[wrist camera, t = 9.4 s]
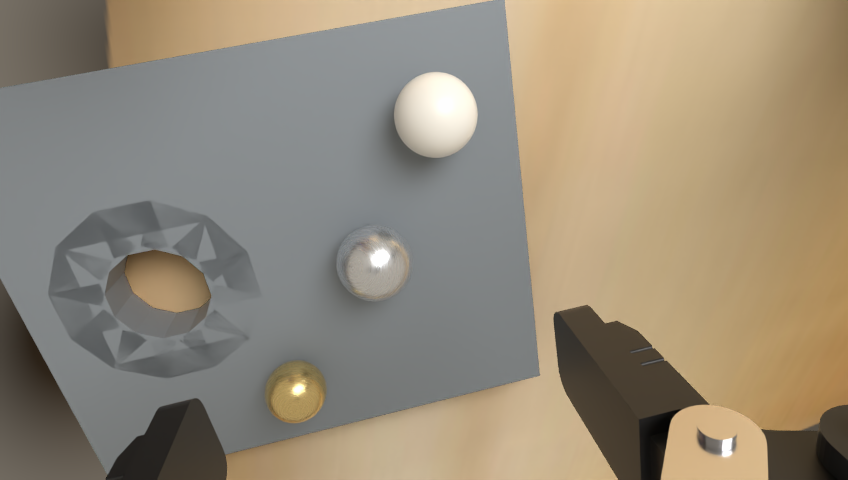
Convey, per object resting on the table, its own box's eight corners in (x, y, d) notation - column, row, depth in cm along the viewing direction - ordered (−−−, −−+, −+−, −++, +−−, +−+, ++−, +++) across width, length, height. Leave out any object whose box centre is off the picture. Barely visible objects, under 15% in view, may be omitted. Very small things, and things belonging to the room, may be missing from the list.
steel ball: (437, 244, 24) (400, 251, 21) (408, 307, 25) (369, 323, 22) (379, 210, 25) (337, 212, 22) (354, 271, 26) (309, 281, 23)
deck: (487, 2, 24) (504, -2, 22) (524, 351, 32) (539, 375, 30) (-51, 97, 22) (-95, 104, 20) (128, 448, 30) (111, 483, 28)
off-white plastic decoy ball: (460, 62, 23) (482, 67, 20) (470, 140, 24) (492, 156, 21) (383, 77, 23) (391, 84, 19) (397, 155, 24) (408, 174, 21)
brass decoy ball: (319, 342, 27) (318, 377, 24) (332, 389, 28) (333, 427, 25) (260, 356, 26) (253, 393, 24) (276, 402, 28) (271, 443, 25)
